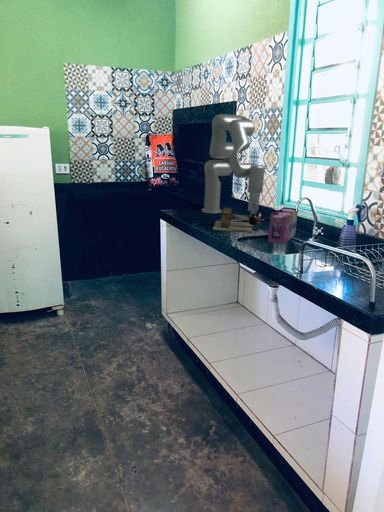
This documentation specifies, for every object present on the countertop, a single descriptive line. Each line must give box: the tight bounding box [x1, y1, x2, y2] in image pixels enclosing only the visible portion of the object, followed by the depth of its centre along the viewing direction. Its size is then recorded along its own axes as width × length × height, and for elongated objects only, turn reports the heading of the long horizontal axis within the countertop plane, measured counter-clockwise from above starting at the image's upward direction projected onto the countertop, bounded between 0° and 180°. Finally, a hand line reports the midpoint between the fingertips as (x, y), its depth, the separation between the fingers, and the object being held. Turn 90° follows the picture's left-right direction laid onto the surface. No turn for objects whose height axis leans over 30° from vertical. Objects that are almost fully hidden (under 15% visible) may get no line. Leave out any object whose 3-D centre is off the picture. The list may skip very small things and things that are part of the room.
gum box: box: [267, 206, 299, 245], centre depth 198 cm, size 24×8×14 cm, turn 153°
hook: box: [230, 212, 265, 226], centre depth 216 cm, size 6×19×6 cm, turn 81°
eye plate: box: [212, 207, 253, 234], centre depth 217 cm, size 18×20×9 cm
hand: (252, 223), depth 216 cm, fingers closed on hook, 2 cm apart
